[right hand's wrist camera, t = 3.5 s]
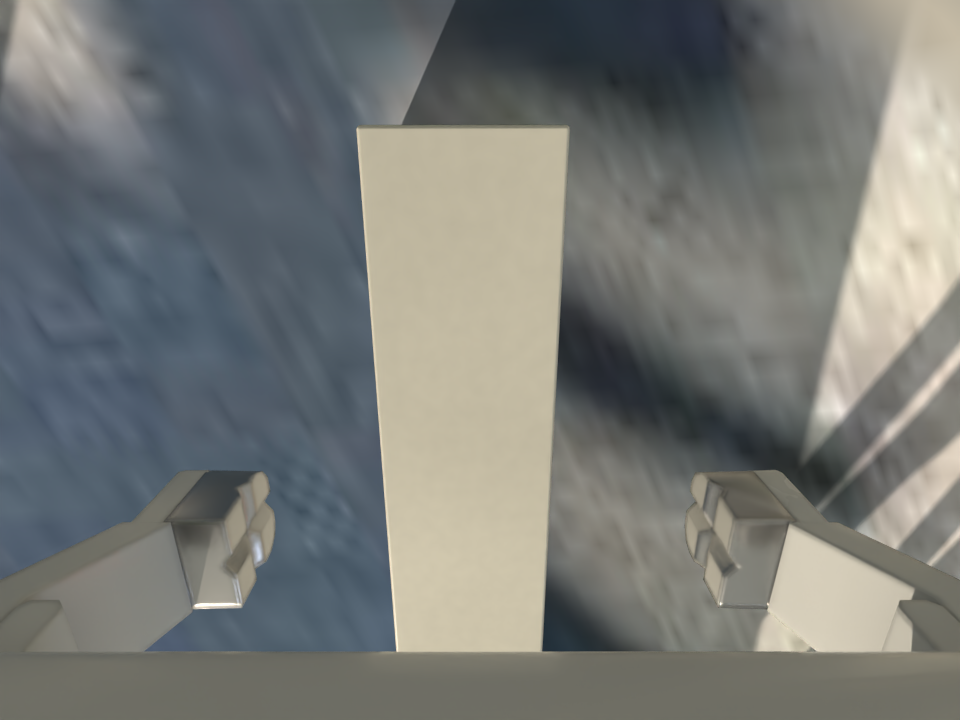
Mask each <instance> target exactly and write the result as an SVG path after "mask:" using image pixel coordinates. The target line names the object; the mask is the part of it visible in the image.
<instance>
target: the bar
mask: <svg viewBox="0 0 960 720" xmlns="http://www.w3.org/2000/svg"><path fill="white" fill-rule="evenodd" d="M569 136H570V128H569V126H568V125H359V126H358V127H357V141H358V154H359V167H360V180H361V193H362V206H363V219H364V232H365V246H366V259H367V272H368V285H369V298H370V311H371V324H372V337H373V350H374V364H375V377H376V390H377V403H378V416H379V429H380V442H381V455H382V468H383V482H384V495H385V508H386V521H387V534H388V547H389V560H390V573H391V586H392V599H393V613H394V626H395V639H396V652H542V645H543V626H544V607H545V588H546V569H547V550H548V532H549V513H550V494H551V475H552V456H553V437H554V419H555V400H556V381H557V362H558V343H559V324H560V306H561V287H562V268H563V249H564V230H565V211H566V193H567V174H568V155H569Z"/></svg>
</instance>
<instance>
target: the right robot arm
mask: <svg viewBox="0 0 960 720" xmlns="http://www.w3.org/2000/svg"><path fill="white" fill-rule="evenodd" d="M269 492H270V488H269V483H268V478H267V476H266V475H265V474H264V473H263V471H215V470H212V471H209V470H185V471H181V472H178V473H177V474H176V475H175V476H174V478H173V479H172V480H171V481H170V482H169V483H168V484H167V485H166V486H165V487H164V488H163V489H162V490H161V491H160V492H159V493H158V495H157V496H156V497H155V498H154V499H153V500H152V501H151V502H150V503H149V504H148V505H147V506H146V507H145V508H144V509H143V510H142V512H141V513H140V514H139V515H138V516H137V517H136V518H135V519H134V520H133V521H132V522H122V523H120V524H118V525H116V526H114V527H112V528H109V529H107V530H105V531H103V532H101V533H99V534H97V535H95V536H92V537H90V538H88V539H86V540H84V541H82V542H80V543H78V544H75V545H73V546H71V547H69V548H67V549H65V550H63V551H61V552H58V553H56V554H54V555H52V556H50V557H48V558H46V559H44V560H41V561H39V562H37V563H35V564H33V565H31V566H29V567H26V568H24V569H22V570H20V571H18V572H16V573H14V574H12V575H9V576H7V577H5V578H3V579H1V580H0V720H960V580H959V579H957V578H954V577H952V576H950V575H948V574H946V573H944V572H942V571H940V570H937V569H935V568H933V567H931V566H929V565H927V564H925V563H923V562H921V561H918V560H916V559H914V558H912V557H910V556H908V555H906V554H904V553H901V552H899V551H897V550H895V549H893V548H891V547H889V546H887V545H884V544H882V543H880V542H878V541H876V540H874V539H872V538H870V537H867V536H865V535H863V534H861V533H859V532H857V531H855V530H853V529H850V528H848V527H846V526H844V525H842V524H840V523H838V522H828V521H827V520H826V519H825V518H824V517H823V516H822V515H821V514H820V513H819V511H818V510H817V509H816V508H815V507H814V506H813V505H812V504H811V503H810V502H809V501H808V500H807V499H806V498H805V497H804V496H803V494H802V493H801V492H800V491H799V490H798V489H797V488H796V487H795V486H794V485H793V484H792V483H791V482H790V481H789V480H788V479H787V477H786V476H785V475H784V474H783V473H781V472H779V471H777V470H758V471H731V472H695V474H694V476H693V478H692V482H691V487H690V492H691V494H692V496H693V497H694V499H695V501H696V502H695V503H694V504H693V505H692V506H691V507H690V508H689V509H688V510H687V511H686V519H685V536H686V543H687V546H688V549H689V552H690V554H691V556H692V558H693V560H694V562H696V563H697V564H699V565H700V566H702V567H703V568H705V573H704V578H703V580H704V582H705V583H706V585H707V587H708V589H709V591H710V593H711V595H712V597H713V599H714V601H715V602H716V604H717V606H718V608H746V609H768V610H767V611H768V612H769V613H770V614H771V615H772V616H774V617H775V618H776V619H777V620H779V621H780V622H781V623H782V624H784V625H785V626H786V627H787V628H789V629H790V630H791V631H792V632H793V633H795V634H796V635H797V636H798V637H800V638H801V639H802V640H803V641H805V642H806V643H807V644H808V645H809V646H811V647H812V648H813V649H814V650H816V651H817V652H143V651H145V650H146V649H147V648H148V647H149V646H151V645H152V644H153V643H154V642H156V641H157V640H158V639H159V638H161V637H162V636H163V635H164V634H166V633H167V632H168V631H169V630H170V629H172V628H173V627H174V626H175V625H177V624H178V623H179V622H180V621H182V620H183V619H184V618H185V617H187V616H188V615H189V614H190V613H191V612H192V609H213V608H242V606H243V604H244V603H245V601H246V599H247V597H248V595H249V593H250V591H251V589H252V587H253V585H254V583H255V582H256V580H257V578H256V573H255V568H257V567H258V566H260V565H261V564H263V563H264V562H266V560H267V558H268V556H269V554H270V552H271V550H272V546H273V541H274V537H275V518H274V511H273V510H272V509H271V508H270V507H269V506H268V505H267V504H266V503H265V502H264V501H265V499H266V497H267V496H268V494H269Z"/></svg>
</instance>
